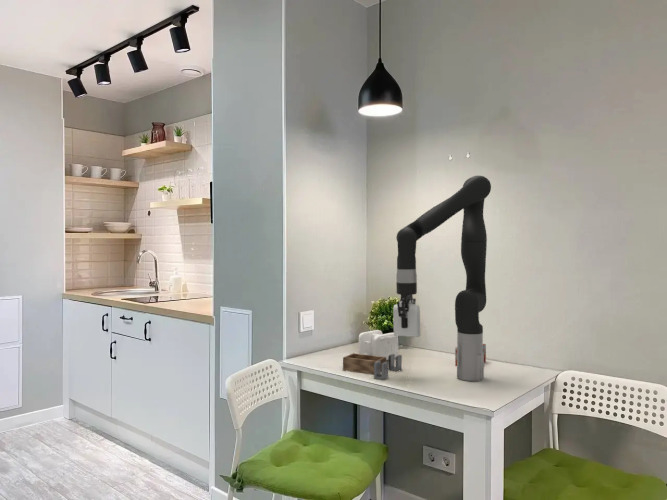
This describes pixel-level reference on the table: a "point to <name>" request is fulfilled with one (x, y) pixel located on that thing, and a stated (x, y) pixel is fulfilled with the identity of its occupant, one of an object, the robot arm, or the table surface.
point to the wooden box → (361, 363)
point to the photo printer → (413, 322)
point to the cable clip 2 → (392, 362)
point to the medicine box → (483, 351)
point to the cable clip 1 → (378, 370)
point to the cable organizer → (378, 344)
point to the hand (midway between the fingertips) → (406, 326)
